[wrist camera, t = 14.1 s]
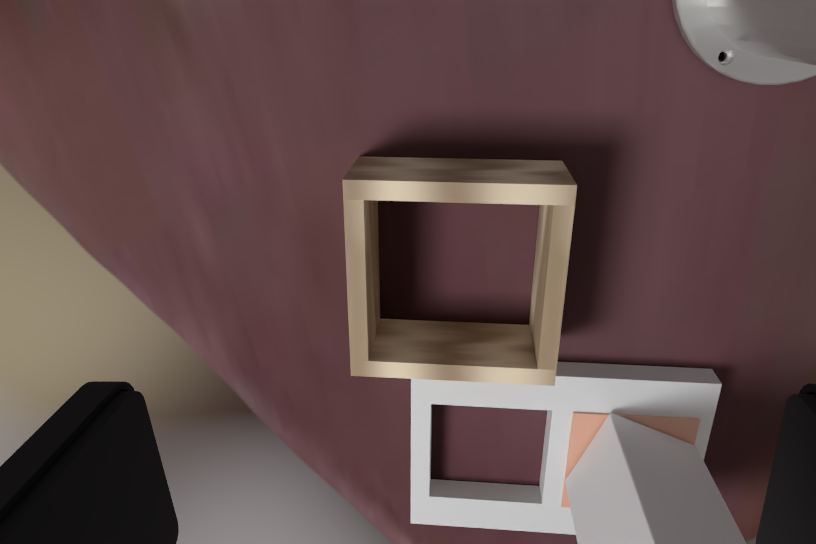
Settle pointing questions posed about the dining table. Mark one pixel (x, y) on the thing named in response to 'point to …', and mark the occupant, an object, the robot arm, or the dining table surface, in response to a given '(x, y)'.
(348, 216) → the frame
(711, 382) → the board
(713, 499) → the milk carton
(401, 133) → the dining table surface
